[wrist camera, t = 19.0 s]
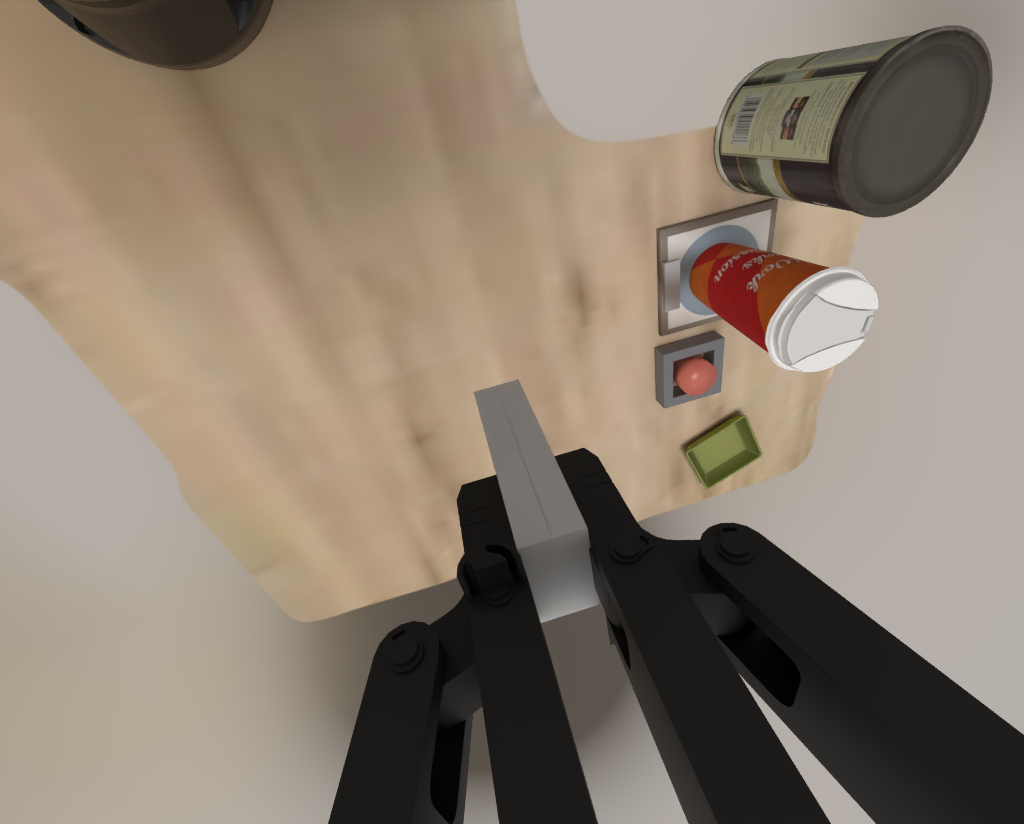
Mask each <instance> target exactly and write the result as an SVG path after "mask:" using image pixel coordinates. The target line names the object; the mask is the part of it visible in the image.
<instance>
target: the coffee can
mask: <svg viewBox="0 0 1024 824" xmlns="http://www.w3.org/2000/svg"><path fill="white" fill-rule="evenodd" d="M991 88H992V62H991V57H990V53H989V50H988V48H987V46H986V44H985V42H984V41H983V39H982V38H981V37H980V36H979V35H978V34H977V33H975V32H974V31H972V30H971V29H968V28H966V27H962V26H943V27H938V28H933V29H930V30H926V31H923V32H921V33H918V34H916V35H911V36H906V37H900V38H895V39H890V40H884V41H879V42H874V43H868V44H863V45H858V46H853V47H847V48H842V49H836V50H831V51H826V52H820V53H815V54H809V55H804V56H798V57H793V58H783V59H776V60H772V61H769V62H766V63H764V64H762V65H761V66H759V67H757V68H756V69H754V70H753V71H752V72H750V73H749V74H748V75H747V76H746V77H745V78H744V79H743V80H742V81H741V82H740V83H739V84H738V85H737V87H736V88H735V89H734V91H733V92H732V93H731V95H730V97H729V98H728V99H727V102H726V104H725V106H724V108H723V110H722V113H721V115H720V118H719V121H718V125H717V129H716V134H715V143H714V154H715V159H716V165H717V168H718V170H719V173H720V175H721V176H722V178H723V180H724V181H725V182H726V183H727V184H728V185H729V186H730V187H731V188H733V189H734V190H737V191H739V192H742V193H748V194H759V195H764V196H771V197H777V198H782V199H788V200H793V201H799V202H805V203H810V204H815V205H820V206H825V207H832V208H838V209H842V210H848V211H853V212H855V213H857V214H860V215H864V216H868V217H887V216H891V215H895V214H897V213H900V212H903V211H905V210H907V209H908V208H911V207H913V206H915V205H916V204H918V203H919V202H921V201H922V200H924V199H925V198H926V197H928V196H929V195H930V194H931V193H932V192H934V191H935V190H936V189H937V188H938V187H939V186H940V185H941V184H942V183H943V182H944V181H945V180H946V179H947V178H948V177H949V175H950V174H951V173H952V172H953V171H954V169H955V168H956V167H957V165H958V164H959V163H960V162H961V160H962V158H963V157H964V156H965V154H966V152H967V151H968V149H969V148H970V146H971V145H972V143H973V141H974V139H975V137H976V135H977V133H978V131H979V128H980V126H981V124H982V122H983V119H984V116H985V113H986V110H987V106H988V103H989V99H990V94H991Z"/></svg>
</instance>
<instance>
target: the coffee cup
mask: <svg viewBox="0 0 1024 824" xmlns="http://www.w3.org/2000/svg"><path fill="white" fill-rule="evenodd" d="M689 285H690V289H691V291H692V293H693V295H694V296H695V297H696V298H697V299H698V300H699V301H700V302H702V303H703V304H704V305H705V306H707V307H708V308H709V309H711V310H712V311H713V312H715V313H716V314H717V315H719V316H720V317H721V318H723V319H724V320H725V321H727V322H728V323H729V324H730V325H732V326H733V327H734V328H736V329H737V330H739V331H740V332H741V333H743V334H744V335H745V336H747V337H748V338H749V339H751V340H752V341H753V342H755V343H756V344H757V345H759V346H760V347H761V348H763V349H764V350H765V351H767V352H768V353H769V355H770V357H771V359H772V360H773V361H774V362H775V363H776V364H777V365H778V366H780V367H781V368H784V369H787V370H793V371H798V370H799V371H803V372H816V371H821V370H825V369H828V368H830V367H832V366H834V365H836V364H838V363H840V362H841V361H843V360H844V359H845V358H847V357H848V356H849V355H851V354H852V353H853V352H854V351H855V350H856V349H857V348H858V347H859V346H860V345H861V343H862V342H863V341H864V340H865V338H864V337H863V336H864V333H865V332H868V330H869V328H870V326H871V323H872V321H873V319H874V316H872V315H873V312H874V310H875V309H878V298H877V295H876V292H875V290H874V288H873V287H872V286H871V285H870V284H869V283H868V282H867V281H866V279H865V277H864V276H863V275H862V274H861V273H860V272H859V271H857V270H854V269H853V268H848V267H833V268H829V267H825V266H821V265H817V264H813V263H809V262H806V261H802V260H798V259H794V258H790V257H786V256H782V255H779V254H775V253H771V252H767V251H763V250H759V249H755V248H751V247H747V246H742V245H738V244H733V243H719V244H715V245H713V246H711V247H709V248H708V249H706V250H705V251H704V252H703V253H702V254H701V255H700V256H699V257H698V258H697V260H696V261H695V263H694V265H693V267H692V269H691V272H690V277H689Z"/></svg>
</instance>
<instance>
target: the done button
mask: <svg viewBox="0 0 1024 824" xmlns="http://www.w3.org/2000/svg"><path fill="white" fill-rule="evenodd" d="M716 378H717V371H716V368H715V367H714V366H713V365H712V364H710V363H709V362H708V361H707V360H705V359H704V358H703V357H701V356H700V355H699V354H697V355H694V356H690V357H687V358H683V359H680V360H676V361H675V362H674V363H673V381H674V382H675V383H676V384H677V385H678V386H679V387H680V388H681V389H682V390H683V391H684V392H685V393H687V394H688V395H691V396H697V395H701V394H703V393H705V392H707V391H708V390H709V389H710V388H711V387H712V386H713V384H714V383H715V381H716Z"/></svg>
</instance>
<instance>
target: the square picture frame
mask: <svg viewBox="0 0 1024 824" xmlns="http://www.w3.org/2000/svg"><path fill="white" fill-rule="evenodd" d="M777 202H778V199H775V198H773V199H769V200H765V201H762V202H758V203H754V204H750V205H747V206H743V207H739V208H735V209H732V210H728V211H724V212H720V213H717V214H713V215H709V216H706V217H702V218H698V219H694V220H691V221H687V222H683V223H679V224H676V225H672V226H668V227H664V228H661V229H657V265H658V317H659V335H661V336H664V335H668V334H671V333H675V332H678V331H682V330H685V329H689V328H692V327H696V326H699V325H703V324H707V323H710V322H714V321H717V320H721V319H723V318H721V317H720V316H719V315H717V314H716V313H715V312H713V311H712V310H711V309H709V308H708V307H707V306H705V305H704V304H703V303H702V302H700V301H699V300H698V299H697V298H696V297H695V296H694V295H693V293H692V291H691V289H690V285H689V277H690V272H691V269H692V267H693V265H694V263H695V261H696V260H697V258H698V257H699V256H700V255H701V254H702V253H703V252H704V251H705V250H706V249H708V248H709V247H711V246H713V245H715V244H719V243H733V244H738V245H742V246H747V247H751V248H755V249H759V250H763V251H767V252H772V243H773V235H774V227H775V218H776V210H777Z"/></svg>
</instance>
